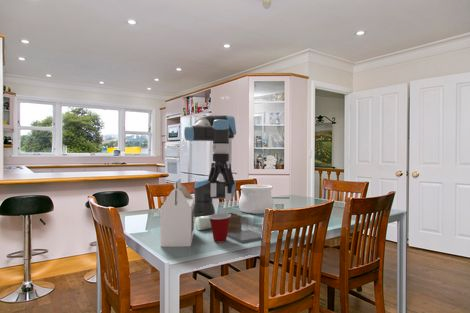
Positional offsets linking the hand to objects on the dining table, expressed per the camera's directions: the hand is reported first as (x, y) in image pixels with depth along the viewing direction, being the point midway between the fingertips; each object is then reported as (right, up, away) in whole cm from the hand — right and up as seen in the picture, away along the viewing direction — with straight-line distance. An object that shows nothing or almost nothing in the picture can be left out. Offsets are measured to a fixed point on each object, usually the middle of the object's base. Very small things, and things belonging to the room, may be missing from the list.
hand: (220, 198), depth 145 cm
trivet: (+12, -20, +7) cm, 24 cm away
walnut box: (+4, -19, +20) cm, 28 cm away
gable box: (-20, -20, +2) cm, 28 cm away
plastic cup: (-1, -20, +1) cm, 20 cm away
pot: (+22, -19, +72) cm, 77 cm away
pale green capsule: (-8, -18, +20) cm, 28 cm away
